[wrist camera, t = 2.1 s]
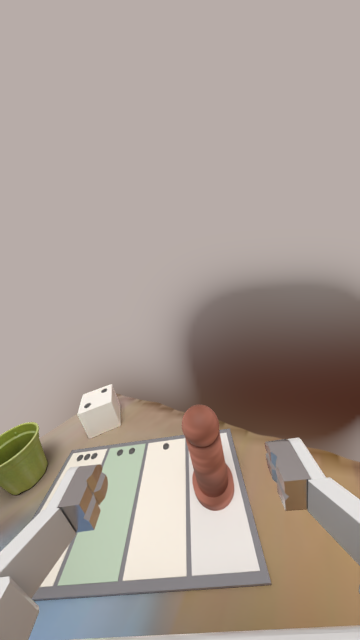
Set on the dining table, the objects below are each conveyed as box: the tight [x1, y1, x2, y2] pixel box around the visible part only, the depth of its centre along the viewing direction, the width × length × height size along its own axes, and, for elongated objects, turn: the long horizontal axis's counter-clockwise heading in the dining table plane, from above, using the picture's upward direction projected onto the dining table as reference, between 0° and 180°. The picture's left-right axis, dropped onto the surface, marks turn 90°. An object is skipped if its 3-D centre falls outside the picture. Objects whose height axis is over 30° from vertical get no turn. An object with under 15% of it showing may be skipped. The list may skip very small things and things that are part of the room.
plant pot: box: [0, 422, 48, 495], centre depth 34 cm, size 9×9×9 cm
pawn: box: [182, 405, 234, 511], centre depth 26 cm, size 6×6×14 cm
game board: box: [31, 429, 271, 601], centre depth 29 cm, size 33×18×1 cm, turn 89°
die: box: [77, 384, 121, 439], centre depth 44 cm, size 7×7×7 cm
